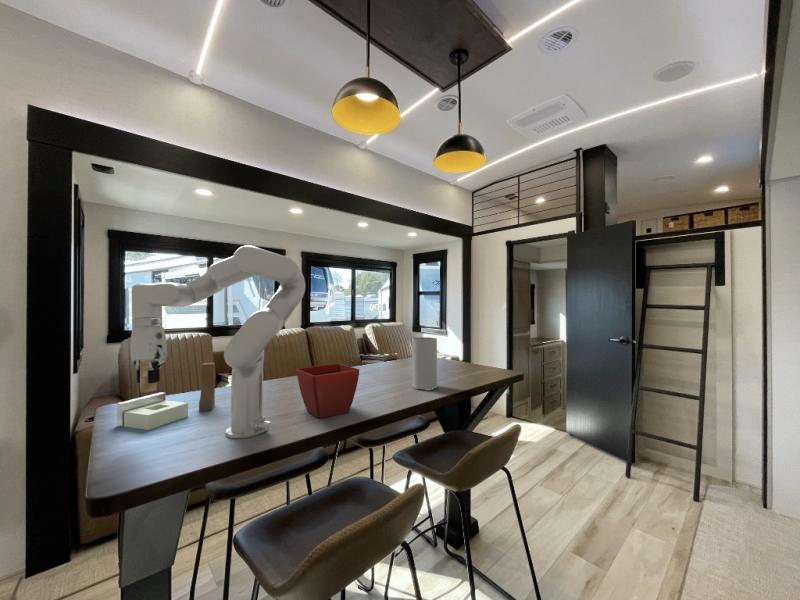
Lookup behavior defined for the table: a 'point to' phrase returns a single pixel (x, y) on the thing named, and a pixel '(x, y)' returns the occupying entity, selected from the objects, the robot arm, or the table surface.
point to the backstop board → (136, 405)
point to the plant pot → (328, 388)
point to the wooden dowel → (145, 377)
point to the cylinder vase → (424, 362)
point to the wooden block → (207, 387)
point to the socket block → (155, 415)
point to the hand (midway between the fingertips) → (148, 381)
